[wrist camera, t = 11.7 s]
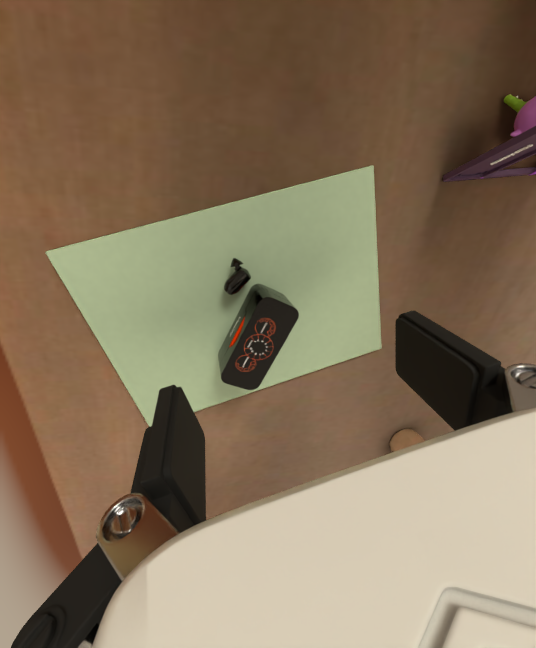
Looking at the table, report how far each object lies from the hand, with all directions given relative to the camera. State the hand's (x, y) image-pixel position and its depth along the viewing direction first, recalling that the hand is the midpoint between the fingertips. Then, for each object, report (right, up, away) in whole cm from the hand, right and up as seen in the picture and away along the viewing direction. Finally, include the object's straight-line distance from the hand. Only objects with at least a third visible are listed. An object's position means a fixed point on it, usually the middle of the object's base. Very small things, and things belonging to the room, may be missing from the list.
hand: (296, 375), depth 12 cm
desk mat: (-3, +3, +8) cm, 9 cm away
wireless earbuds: (-3, +3, +8) cm, 9 cm away
